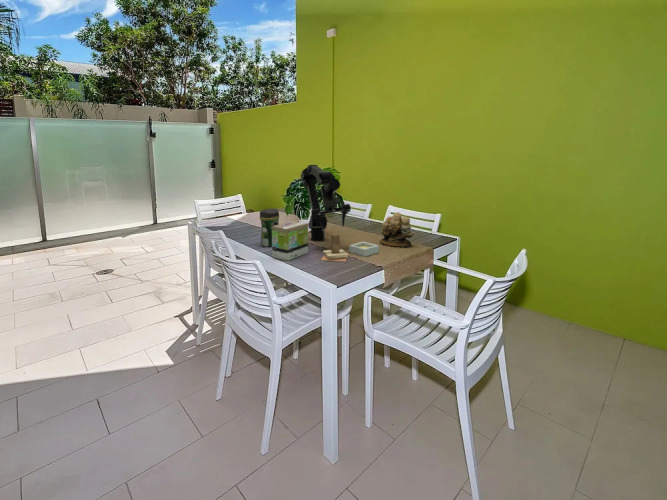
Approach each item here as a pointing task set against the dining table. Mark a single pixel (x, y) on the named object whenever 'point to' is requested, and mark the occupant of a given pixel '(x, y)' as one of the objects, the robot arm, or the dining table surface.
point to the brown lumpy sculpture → (396, 231)
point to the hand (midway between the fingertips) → (333, 228)
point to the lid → (335, 248)
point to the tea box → (289, 240)
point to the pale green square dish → (364, 249)
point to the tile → (334, 259)
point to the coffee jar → (268, 225)
